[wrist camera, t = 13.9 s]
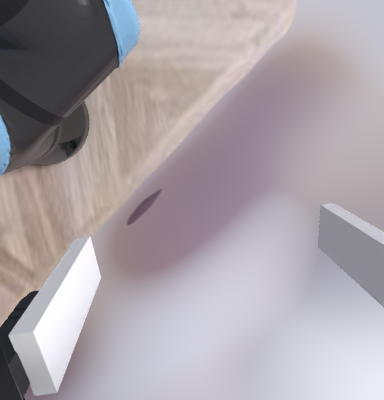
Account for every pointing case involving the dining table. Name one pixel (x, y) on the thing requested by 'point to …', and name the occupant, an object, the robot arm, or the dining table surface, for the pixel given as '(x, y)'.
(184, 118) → the dining table surface
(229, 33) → the dining table surface
